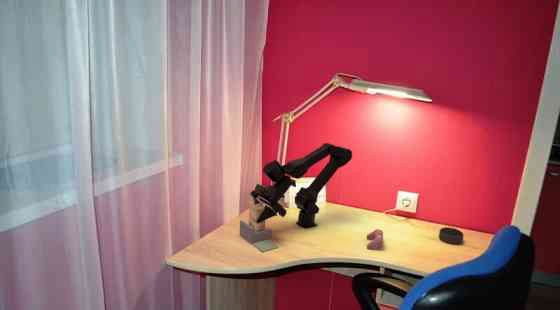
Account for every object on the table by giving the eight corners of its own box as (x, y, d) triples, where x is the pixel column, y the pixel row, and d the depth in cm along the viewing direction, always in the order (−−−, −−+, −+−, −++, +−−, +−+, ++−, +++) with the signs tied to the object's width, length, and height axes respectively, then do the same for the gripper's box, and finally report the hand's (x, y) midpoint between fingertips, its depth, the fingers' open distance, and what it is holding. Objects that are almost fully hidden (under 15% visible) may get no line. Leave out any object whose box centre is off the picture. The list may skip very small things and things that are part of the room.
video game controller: (376, 254, 147) (386, 240, 145) (365, 248, 147) (376, 233, 145) (375, 243, 157) (385, 229, 155) (365, 236, 157) (375, 223, 155)
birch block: (258, 227, 156) (259, 203, 153) (264, 231, 152) (265, 207, 150) (248, 229, 153) (249, 205, 151) (254, 234, 150) (255, 209, 147)
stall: (259, 230, 159) (259, 216, 157) (271, 238, 152) (271, 223, 151) (239, 234, 154) (240, 220, 152) (251, 243, 147) (251, 228, 146)
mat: (267, 240, 150) (267, 239, 150) (278, 247, 145) (278, 246, 145) (252, 244, 146) (252, 243, 146) (262, 252, 141) (262, 251, 141)
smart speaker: (460, 237, 162) (461, 228, 161) (464, 247, 154) (465, 237, 153) (437, 234, 165) (438, 225, 164) (439, 243, 156) (441, 233, 155)
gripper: (254, 170, 157) (229, 201, 154) (281, 183, 142) (253, 217, 139) (270, 186, 164) (246, 216, 160) (297, 200, 149) (271, 233, 145)
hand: (253, 220), depth 151 cm, fingers closed on birch block, 4 cm apart
